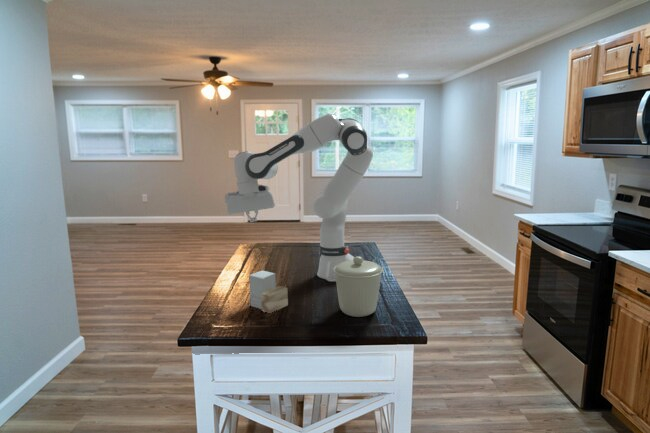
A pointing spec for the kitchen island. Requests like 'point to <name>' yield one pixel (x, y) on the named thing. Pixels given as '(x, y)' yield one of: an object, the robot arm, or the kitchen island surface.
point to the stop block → (274, 299)
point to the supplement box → (260, 286)
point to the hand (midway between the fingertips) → (253, 221)
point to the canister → (358, 286)
